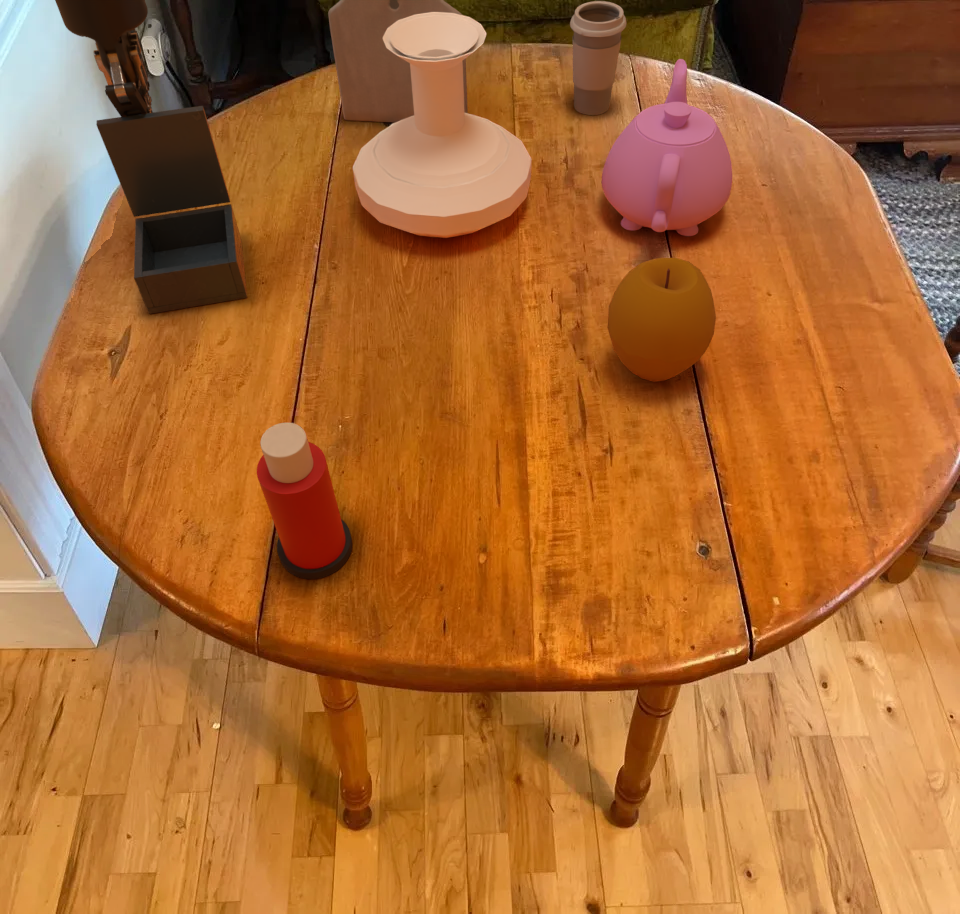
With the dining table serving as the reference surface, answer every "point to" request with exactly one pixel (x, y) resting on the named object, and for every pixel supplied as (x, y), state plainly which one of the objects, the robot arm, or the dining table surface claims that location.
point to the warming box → (189, 259)
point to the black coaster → (323, 570)
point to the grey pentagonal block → (376, 58)
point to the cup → (595, 54)
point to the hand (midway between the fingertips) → (151, 144)
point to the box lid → (165, 160)
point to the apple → (661, 318)
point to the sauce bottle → (300, 497)
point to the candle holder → (440, 141)
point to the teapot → (669, 165)
